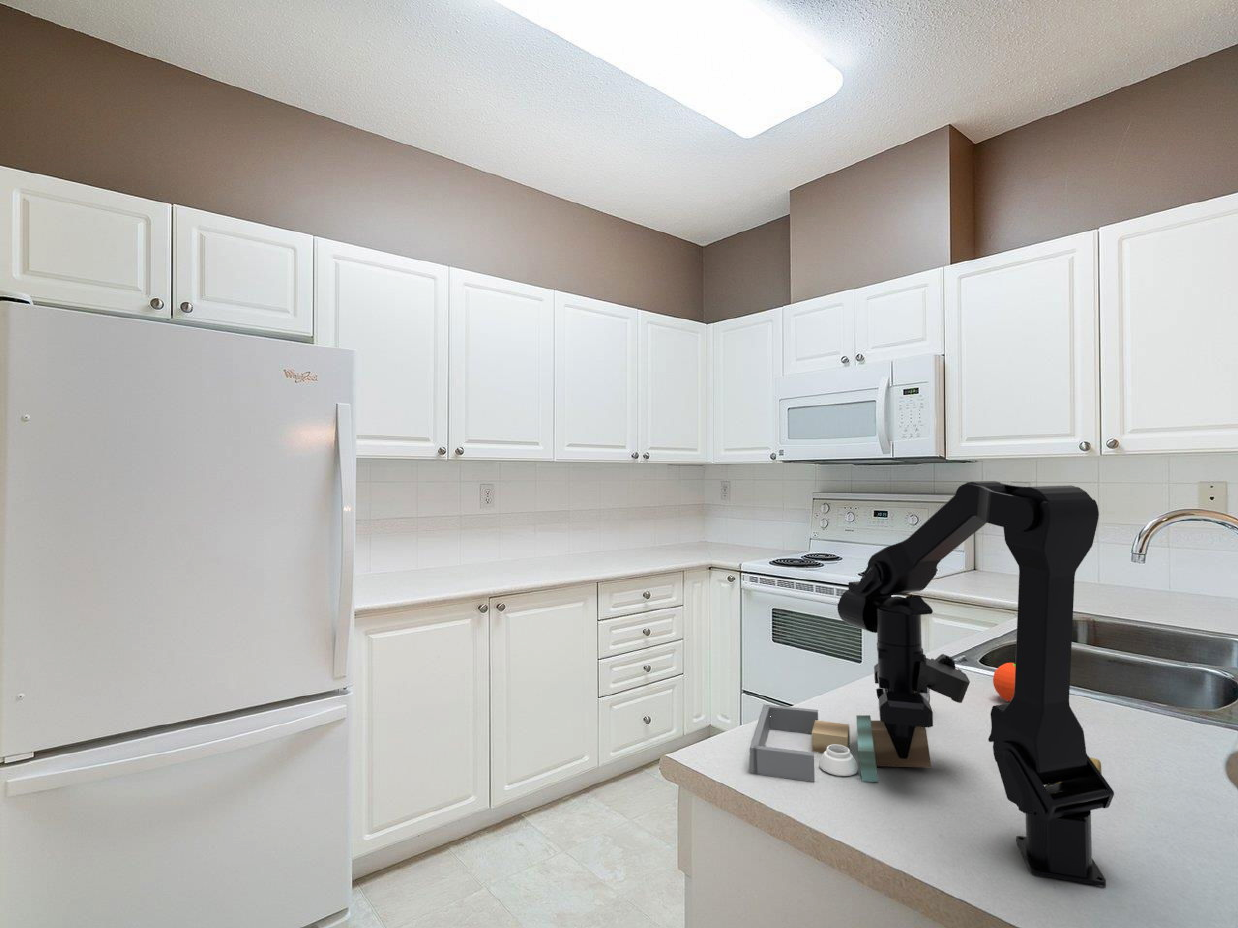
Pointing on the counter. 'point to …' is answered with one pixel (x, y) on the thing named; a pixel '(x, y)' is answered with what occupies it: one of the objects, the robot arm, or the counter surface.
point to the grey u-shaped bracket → (778, 759)
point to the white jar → (838, 761)
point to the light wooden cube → (829, 735)
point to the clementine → (1005, 681)
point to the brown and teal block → (887, 748)
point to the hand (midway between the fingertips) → (901, 752)
